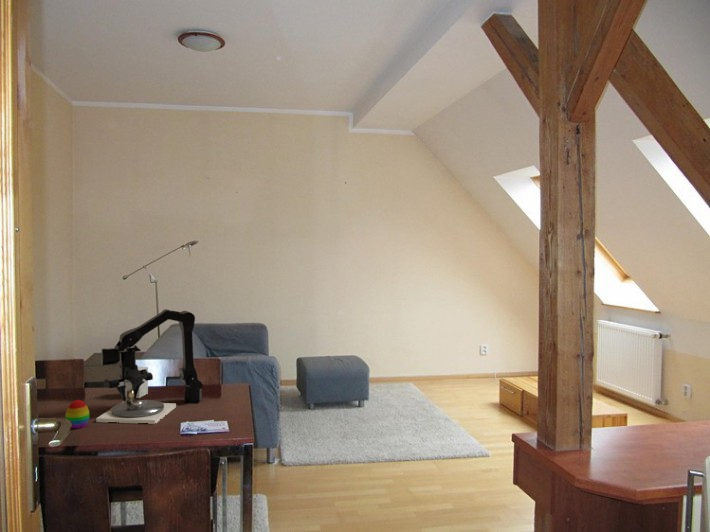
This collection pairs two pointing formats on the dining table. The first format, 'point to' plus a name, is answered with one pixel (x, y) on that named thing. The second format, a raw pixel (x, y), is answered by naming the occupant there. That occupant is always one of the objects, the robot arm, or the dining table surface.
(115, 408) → the handwheel
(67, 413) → the decorative egg
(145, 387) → the supplement box
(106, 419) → the base plate
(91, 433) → the dining table surface
